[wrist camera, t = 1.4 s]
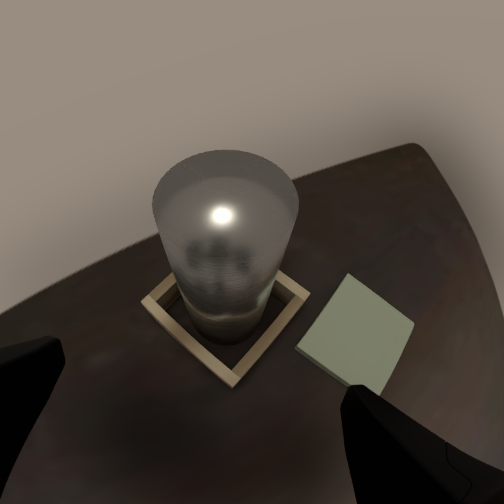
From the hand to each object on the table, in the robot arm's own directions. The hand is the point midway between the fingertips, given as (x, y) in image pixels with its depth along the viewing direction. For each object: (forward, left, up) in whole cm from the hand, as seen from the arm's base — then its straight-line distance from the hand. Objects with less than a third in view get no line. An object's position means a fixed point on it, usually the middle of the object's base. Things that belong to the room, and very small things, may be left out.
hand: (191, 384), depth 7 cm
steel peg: (+4, -6, -13) cm, 14 cm away
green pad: (-6, -11, -13) cm, 18 cm away
